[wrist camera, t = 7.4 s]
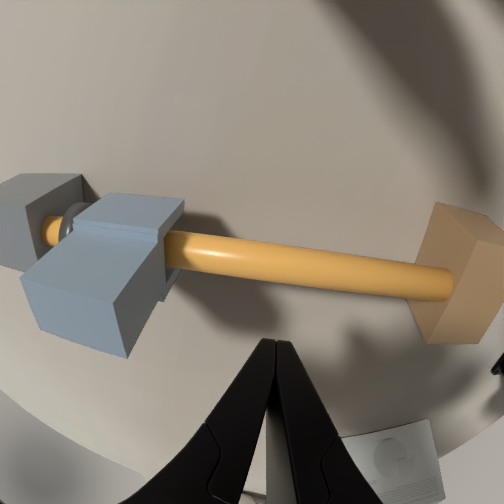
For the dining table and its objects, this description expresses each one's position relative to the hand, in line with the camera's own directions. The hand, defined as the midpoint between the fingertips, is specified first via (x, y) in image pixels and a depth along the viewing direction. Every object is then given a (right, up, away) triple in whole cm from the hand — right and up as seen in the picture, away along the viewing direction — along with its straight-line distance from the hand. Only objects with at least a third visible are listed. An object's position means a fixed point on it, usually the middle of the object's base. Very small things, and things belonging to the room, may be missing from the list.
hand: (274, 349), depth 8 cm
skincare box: (+15, -19, +19) cm, 30 cm away
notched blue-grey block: (-6, +4, +6) cm, 9 cm away
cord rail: (-1, +4, +7) cm, 8 cm away
